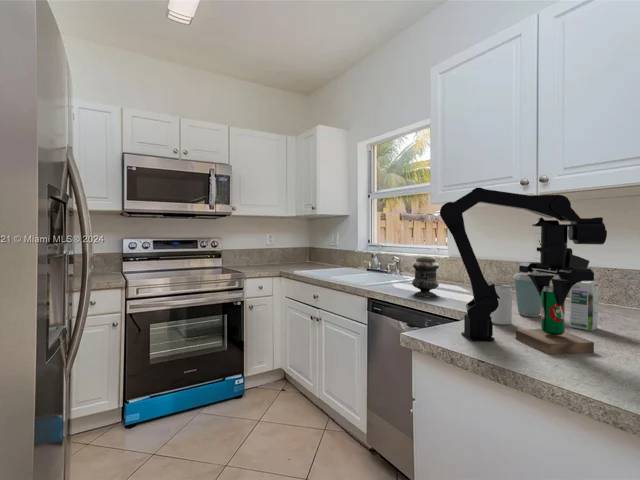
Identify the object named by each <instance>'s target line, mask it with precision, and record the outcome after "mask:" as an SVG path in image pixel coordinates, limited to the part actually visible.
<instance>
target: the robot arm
mask: <svg viewBox="0 0 640 480" xmlns="http://www.w3.org/2000/svg"><path fill="white" fill-rule="evenodd" d="M478 204H487V205H492V206H497V207H498V206H499V207H505V208H513V209H516V210H517V209H518V210H524V211H526V212H530V213H531V214H535V215H538V216H540V217H538V219H537V220H536V221H535V222H533V223H532V224H531V226H532V227H540V247H536V252H539V253H540V259H539V260H540V262H538V261H523V262H521V263H520V264H518V265H519V266H518V267H519V268H518V270H519V271H518V272H519V273H523V274H527V275H528V276H529V277H530V279H531V280H532V282H533V284H534V285H535V287H536V289H537V291H538V293H539V295H540V297H541V290H542V289H543V286H551V285H550V282H551V283H552V286H553V289H554V293H555V298H556V301H557V304H558V306H562V305H563V304H564V301H566V300H567V297H568V294H569V293H570V289H571V288H572V286H573V285H575V284H576V283H577V282H581V281H592V282H595V272H594V271H593V270H592V269H591V268H588V267H589V263H590V260H589V259H586V258H583V257H580V256H578V255H575V254H573V249H572V248H571V247H570V248H569V247H568V240H569V241H572V242H573V244H574V245H599V246H600V245H604V244H605V243H606V240H607V237H608V236H607V235H608V230H607V229H606V225H605V222H604V218H603V217H600V216H599V217H590V218H585V217H584V218H581V217H580V216H579V215H578V214H577V212H576V211H575V210H574V209H573V208H572V203H571V201H570V199H569V198H568V197H567V196H565V195H562V194H539V195H538V194H537V195H529V194H521V193H515V192H509V191H500V190H493V189H488V188H487V189H486V188H483V187H474V188H473V189H471V191H469V192H468V193H467V194H465V195H463V196H462V197H459V198H458V199H457V200H455V201H448V202H446V203H444V204H442V205H441V207H440V209H439V216H440V218H441V220H442V221H443V223H444V224H445V226H446V227H447V230H448V231H449V233H450V234H451V235H452V237H453V240H454V242H455V244H456V247H457V250H458V252H459V255H460V257H461V260H462V263H463V265H464V268H465V270H466V272H467V275H468V278H469V281H470V287H471V292H472V296H473V299H471V300H470V301H469V302H468V303H466V305H465V308H466V314H465V313H464V315H463V318H464V319H463V323H464V324H463V325H464V327H463V328H464V329H463V330H464V331H463V332H461V333H460V334H461V335H462V336H463V337H465V338H467V339H468V340H470V341H472V342H479V341H480V342H481V341H482V342H483V341H485V342H486V341H495V340H496V339H495V337H493V336H494V335H493V334H494V333H493V331H494V330H493V329H494V327H493V325H494V324H493V322H492V321H491V316H490V315H491V313H492V312H494V311H495V310H496V309H497V308H498V306H499V303H498V299H500V297H499V296H498V294H497V293H496V290H495V285H496V284H495V283H494V282H493V281H489V282H487V280H486V279H485V277H484V274H483V272H482V269H481V266H480V264H479V262H478V259H477V257H476V254H475V252H474V249H473V246H472V244H471V241H470V239H469V237H468V234H467V232H466V226H465V220H464V216H463V215H464V213H465V212H466V211H468V210H469V209H472V208H473V207H474V206H476V205H478ZM543 217H544V218H547V220H546V219H544V218H543ZM553 219H555V220H553ZM560 222H562V223H561V224H560ZM564 222H565V223H564ZM563 223H564V224H563ZM566 223H567V224H566ZM568 223H569V224H568ZM555 275H556V276H558V278H554V277H555ZM497 298H498V299H497Z"/></svg>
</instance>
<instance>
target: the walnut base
mask: <svg viewBox="0 0 640 480" xmlns="http://www.w3.org/2000/svg"><path fill="white" fill-rule="evenodd" d="M515 339H516V340H518V341H520V342H522V343H523V344H526V345H528V346H530V347H533V348H535V349H537V350H538V351H541V352H543V353H545V354H547V355H558V354H562V355H563V354H587V353H590V354H591V353H595V342H594V341H592V340H589V339H587V338H584V337H580V336H577V335H574V334H572V333H569V332H566V331H565V332H564V333H563V334H562V335H552V334H547V333H544V332H543V331H542V330H541V328H531V329H530V328H529V329H527V328H526V329H515Z"/></svg>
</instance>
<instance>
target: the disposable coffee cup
mask: <svg viewBox="0 0 640 480" xmlns="http://www.w3.org/2000/svg"><path fill="white" fill-rule="evenodd" d="M527 274H528V273H515V274H514V275H513V282H514V289H515V298H516V306H517V311H518V314H519V315H521V316H525V317H531V318H532V317H533V318H535V317H536V318H537V317H540V315H541V297H540V295H539V293H538V291H537V289H536V287H535V285H534V284H533V282H532V280H531V279H530V277H529V276H528V275H527Z"/></svg>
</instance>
